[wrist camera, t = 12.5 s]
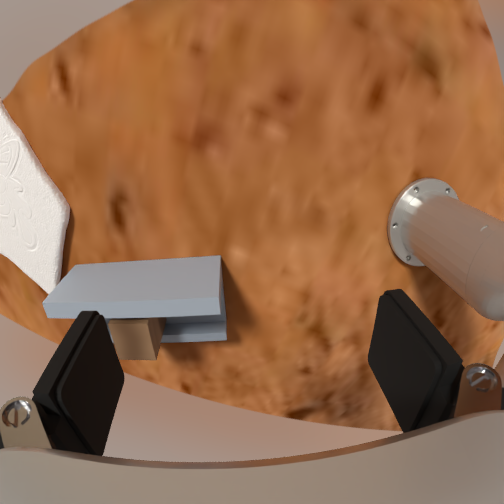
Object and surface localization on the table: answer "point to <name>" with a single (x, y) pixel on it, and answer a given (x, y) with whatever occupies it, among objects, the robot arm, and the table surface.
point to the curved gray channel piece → (149, 295)
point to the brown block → (137, 337)
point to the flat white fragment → (29, 209)
